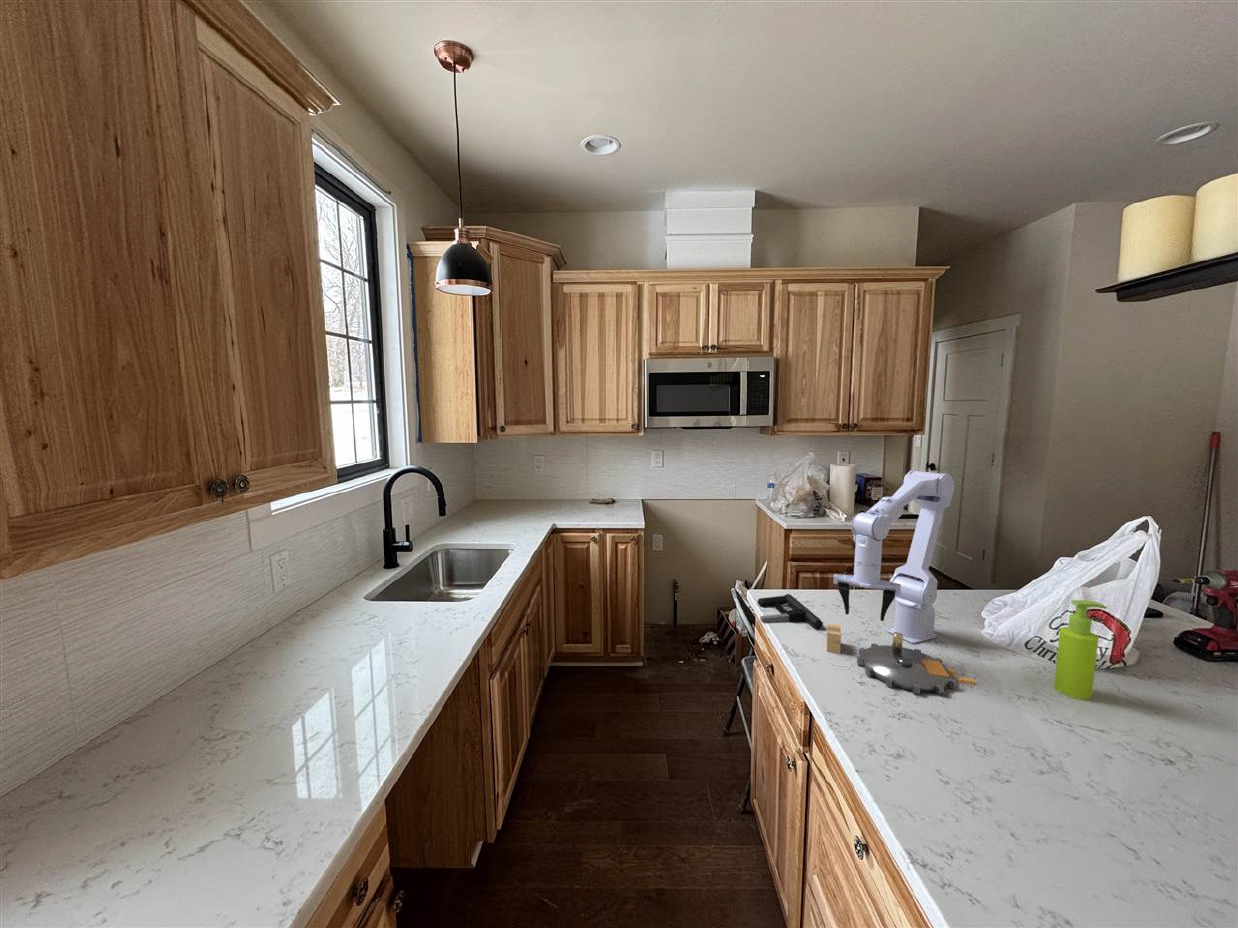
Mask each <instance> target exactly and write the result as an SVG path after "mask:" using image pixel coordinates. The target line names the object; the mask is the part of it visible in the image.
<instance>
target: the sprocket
mask: <svg viewBox="0 0 1238 928" xmlns="http://www.w3.org/2000/svg"><path fill="white" fill-rule="evenodd" d="M903 640H904V639H903V634H902V633H899V632H894V633H893V634H892V643H891V645H886V644H884V645H882V644H881V645H879V644H878V643H871V645H870V647H868V648H863V647H860V648H859V649H858V656H856V664H857V665H858V666H862V667H863V668H864V670H865V671H864V672H865V675H866V676H867V677H874V678H876V679H878V680H879V681H882V682H884V683H885V686H887V687H889V688H890V689H891V688H893V687H897V688H900V689H904V690H908V691H911V692H912V694H915V695H920V693H936V694H937V695H939V696H941V695H944V692H945V689H947V688H950V689H954V690H955V689H956V687H957V680H956V679H955V678H956V671H955V669H953V668H948V666H946V665H945V664H944V663H943V659H941V658H939V657H932V656H931V655H929V654H926V653H924V652H922V650H921V649H919V648H915V649H912V648H907V647H903V642H904V641H903Z"/></svg>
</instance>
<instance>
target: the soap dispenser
mask: <svg viewBox="0 0 1238 928" xmlns="http://www.w3.org/2000/svg"><path fill="white" fill-rule="evenodd" d="M1070 603H1071V604H1072V605H1073V606H1075V613H1072V614H1070V615H1069V618H1068V619H1069V620H1068V627H1067V626H1065V627H1064V626H1063V627H1060V629H1059V635H1058V636H1059V637H1058V643H1057V644H1058V645H1057V646H1058V647H1057V654H1056V655H1057V657H1056V665H1055V675H1054V684H1053V687H1054V689H1055V690H1056V691H1057V692H1059V693H1060V694H1062V695H1064V696H1068V697H1070V698H1073V699H1076V700H1077V699H1078V700H1087V701H1088V700H1091V699H1092V698H1093V688H1094V680H1095V670H1096V662H1097V653H1098V643H1099V636H1098V635H1096V634H1094V633H1093V632H1091V629H1092V618H1090V617H1089V616H1088V615H1087V613H1088V608H1100V609H1105V610H1106V609H1108V606H1106V605H1104V604H1102V603H1099V602H1097V601H1092V600H1082V599H1081V600H1077V599H1075V600H1074V599H1073V600H1071V601H1070Z"/></svg>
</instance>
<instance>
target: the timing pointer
mask: <svg viewBox="0 0 1238 928" xmlns="http://www.w3.org/2000/svg"><path fill="white" fill-rule="evenodd" d="M957 681H958V682H959V683H963V684H969V685H976V681H975V679H972V678H965V677H960V676H957Z"/></svg>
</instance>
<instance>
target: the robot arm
mask: <svg viewBox="0 0 1238 928" xmlns="http://www.w3.org/2000/svg"><path fill="white" fill-rule="evenodd" d="M954 491H955V482H954V479H953V477H952V475H951V474H949V473H940V472H939V473H938V472H931V471H930V472H928V471H922V470H920V471H919V470H915V469H911V470H910V471H908V472H907V473H906V474H905V475H904V478H903V483H902V485H901V486H900V487H899V488H898V489H897V490H896V492H894V494H893V495H892V496H883V497H882V498H880V500H879V501H878V502H877V503H875V504H874V505H873V506H871V508H870V509H868V510H867V511H866V512H859V513H858V514H856V515H854V517H853V518H852V521H851V524H850V529H851V530H850V531H851V532H852V535H853V539H852V540H853V542H854V543H855V549H854V563H853V564H854V567H853V575H850V574H837V573H834V575H833V584H834V585H838V586H837V589H838V592H839V594H840V596H841V599H842V603H843V606H844V611H845V612H844V613H845V615H849V614H850V587H851V586H853V587H858V588H864V589H872V590H879V591H882V603H881V610H880V618H879V619H880V620H879V621H882V622H884V621H885V617H886V614H887V611H888V609H889V608H890V606H891V604H892V603H893V601H895V607H894V625H893V627H891V628H886V629H885V630H886V632H887V633H889V634H892V635H893V633H894V632H899V633H902V634H903V640H904V641H907V642H909V643H911V644H916V643H920V642H925V641H927V640H931V639H936V638H937V637H938V635H937V634H935V622H936V611H935V608H934V606H933V605H934V603H935V602H936V599H937V595H938V591H937V589H938V580H937V578H936V577H935V576H934V575H933V573H932V572H931V571H930V570H929V568H930V564H931V560H932V556H933V554H934V553H933V552H934V550H935V549H934V548H935V545H936V541H937V537H938V533H939V530H940V527H941V523H942V522H941V521H942V518H943V515H944V511H945V509H946V508H949V507H950V505H951V502H952V499H953V495H954ZM912 501H913V502H915V503H917V504H918V506H919V508H920V509H919V515H918V518H917V522H916V526H915V530H914V533H913V537H912V541H911V545H910V548H909V553H908V556H907V560H906V563H905V564H903V565H902V566H901V565H900V566H899V567H896V568H895V570H894V574H893V575H892V577H891V578H890V580H884V579H881V567H882V552H883V540H884V539H885V538H887V536H888V534H889V531H890V529H891V528H892V524H894V523H895V521H897V520H898V519H899V518H900V517H901V516H902V515H903V513H904V507H905V506H907V505H908V504H910V503H911V502H912ZM913 577H914V578H913ZM916 578H918V579H916ZM919 579H920V580H919Z"/></svg>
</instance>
